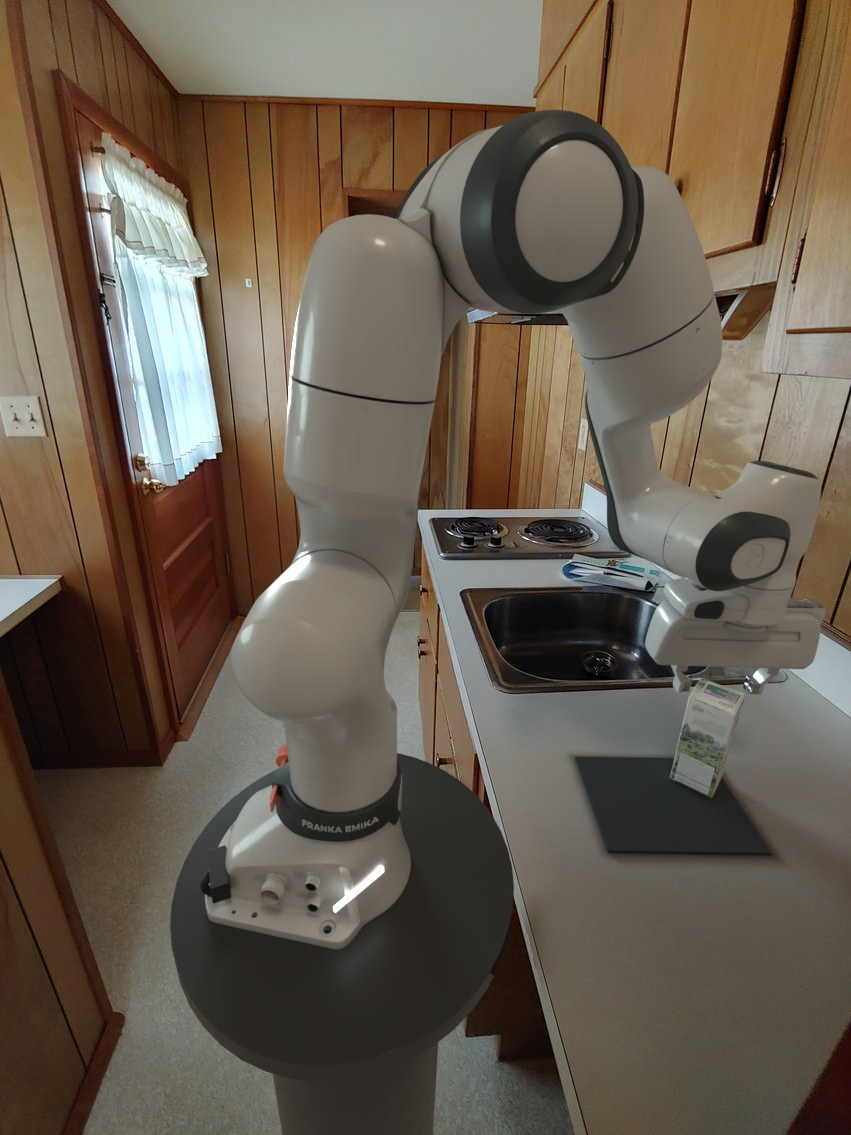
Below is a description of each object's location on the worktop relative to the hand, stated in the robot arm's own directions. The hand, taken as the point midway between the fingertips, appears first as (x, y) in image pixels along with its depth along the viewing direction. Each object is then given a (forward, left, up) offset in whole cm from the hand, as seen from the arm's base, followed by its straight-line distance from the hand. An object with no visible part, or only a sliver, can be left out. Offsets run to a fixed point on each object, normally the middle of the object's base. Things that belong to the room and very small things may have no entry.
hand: (716, 690), depth 72 cm
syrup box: (+1, 0, -15) cm, 15 cm away
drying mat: (-6, -4, -15) cm, 17 cm away
